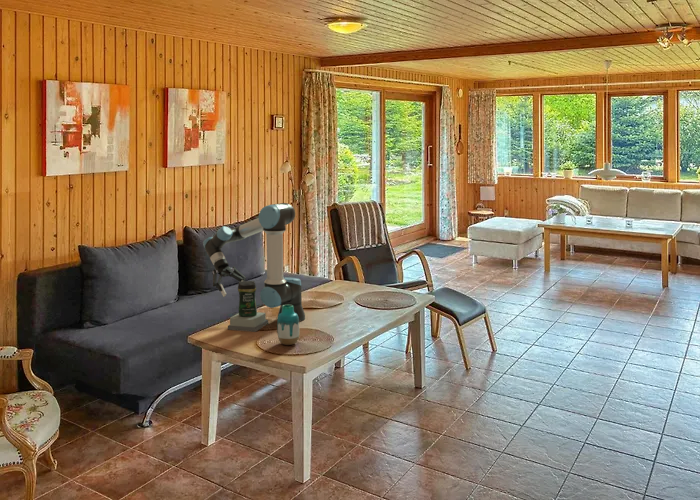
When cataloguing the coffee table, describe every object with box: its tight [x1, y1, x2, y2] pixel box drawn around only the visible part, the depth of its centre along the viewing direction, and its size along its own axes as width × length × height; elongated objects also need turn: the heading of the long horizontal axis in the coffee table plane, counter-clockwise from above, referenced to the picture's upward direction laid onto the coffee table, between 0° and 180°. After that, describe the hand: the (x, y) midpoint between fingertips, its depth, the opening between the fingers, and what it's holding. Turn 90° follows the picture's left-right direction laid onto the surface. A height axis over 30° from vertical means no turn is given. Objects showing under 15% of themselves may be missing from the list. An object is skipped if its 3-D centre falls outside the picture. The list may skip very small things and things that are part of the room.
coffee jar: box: [237, 280, 258, 317], centre depth 339 cm, size 10×8×19 cm
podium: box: [227, 311, 269, 333], centre depth 341 cm, size 16×16×6 cm
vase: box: [276, 304, 300, 346], centre depth 310 cm, size 11×11×19 cm
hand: (235, 293), depth 346 cm, fingers open, 13 cm apart
